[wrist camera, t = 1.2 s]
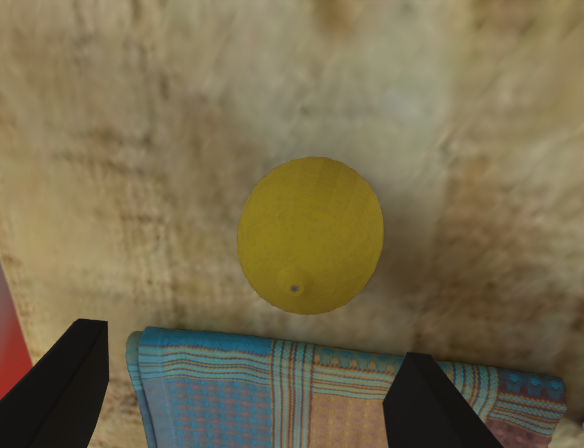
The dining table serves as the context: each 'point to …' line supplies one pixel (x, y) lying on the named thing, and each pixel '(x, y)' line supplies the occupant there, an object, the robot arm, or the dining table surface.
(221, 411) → the dish towel
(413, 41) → the dining table surface
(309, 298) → the lemon
